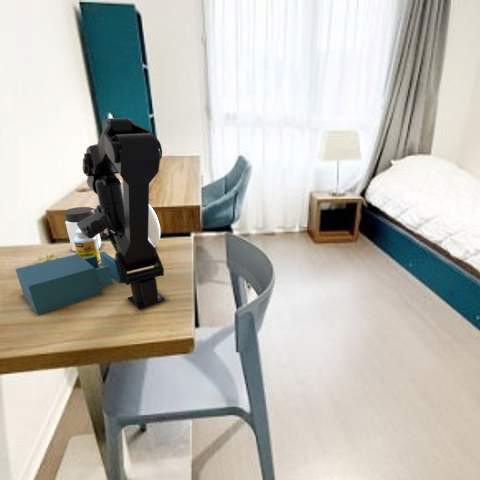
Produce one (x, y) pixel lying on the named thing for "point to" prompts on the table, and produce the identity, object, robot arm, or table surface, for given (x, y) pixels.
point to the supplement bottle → (86, 246)
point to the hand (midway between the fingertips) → (122, 259)
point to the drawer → (104, 269)
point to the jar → (73, 218)
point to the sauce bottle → (153, 227)
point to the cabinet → (58, 283)
